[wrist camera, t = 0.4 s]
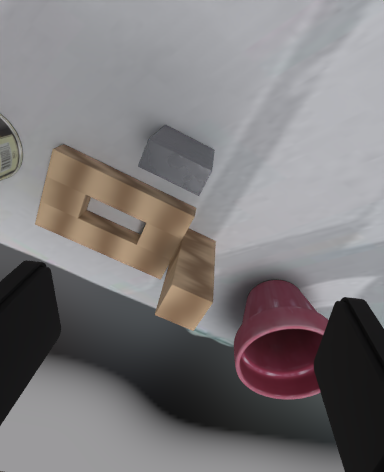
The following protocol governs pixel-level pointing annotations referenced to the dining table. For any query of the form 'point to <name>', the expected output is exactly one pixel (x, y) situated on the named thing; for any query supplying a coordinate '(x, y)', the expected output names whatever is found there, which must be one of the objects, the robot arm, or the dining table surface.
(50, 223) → the wooden slotted base
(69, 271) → the dining table surface
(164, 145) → the tall grey upright slab
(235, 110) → the dining table surface
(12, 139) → the coffee can
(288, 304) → the plant pot
